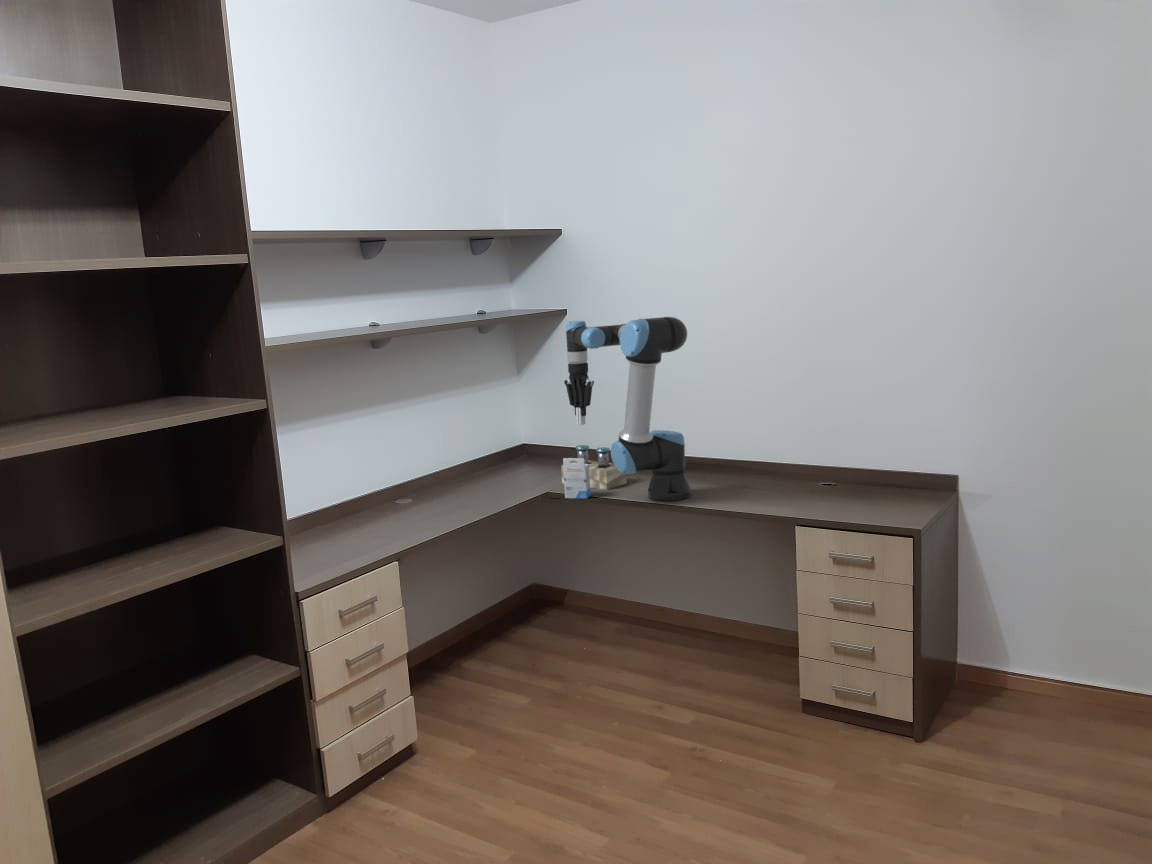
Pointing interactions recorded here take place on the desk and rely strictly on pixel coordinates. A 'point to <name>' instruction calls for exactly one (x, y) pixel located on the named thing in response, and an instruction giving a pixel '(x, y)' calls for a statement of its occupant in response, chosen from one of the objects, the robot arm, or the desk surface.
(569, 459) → the ink box
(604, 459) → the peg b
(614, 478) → the socket block
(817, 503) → the desk surface
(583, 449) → the teal lidded jar
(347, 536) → the desk surface
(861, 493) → the desk surface
